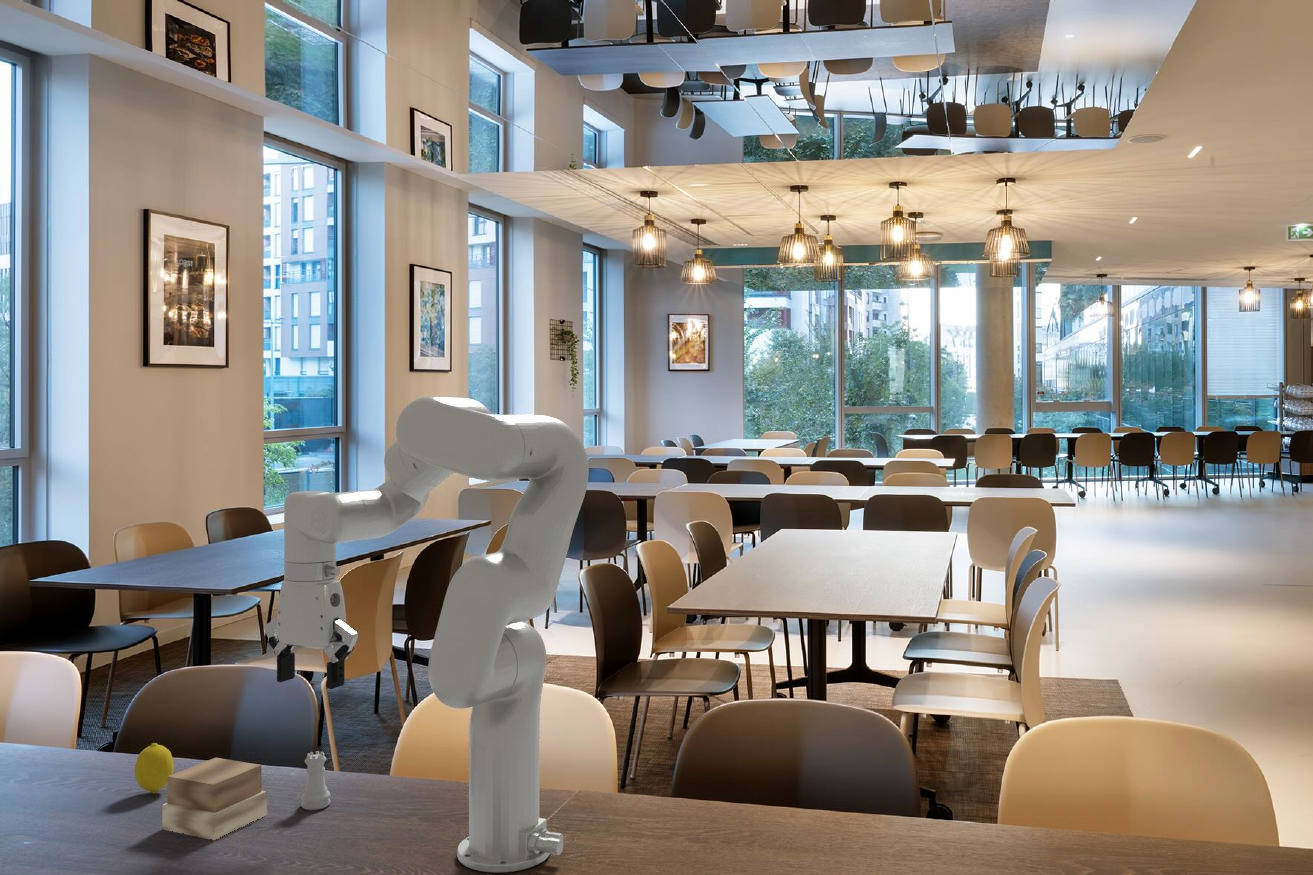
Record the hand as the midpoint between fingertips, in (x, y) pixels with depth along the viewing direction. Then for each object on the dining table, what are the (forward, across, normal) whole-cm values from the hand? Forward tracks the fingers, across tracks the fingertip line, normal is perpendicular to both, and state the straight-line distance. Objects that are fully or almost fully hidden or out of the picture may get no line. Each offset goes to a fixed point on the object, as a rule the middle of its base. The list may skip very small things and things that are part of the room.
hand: (310, 683), depth 159 cm
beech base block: (+19, +8, +11) cm, 23 cm away
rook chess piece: (+19, -1, 0) cm, 19 cm away
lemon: (+19, +26, +6) cm, 33 cm away
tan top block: (+15, +8, +11) cm, 20 cm away
